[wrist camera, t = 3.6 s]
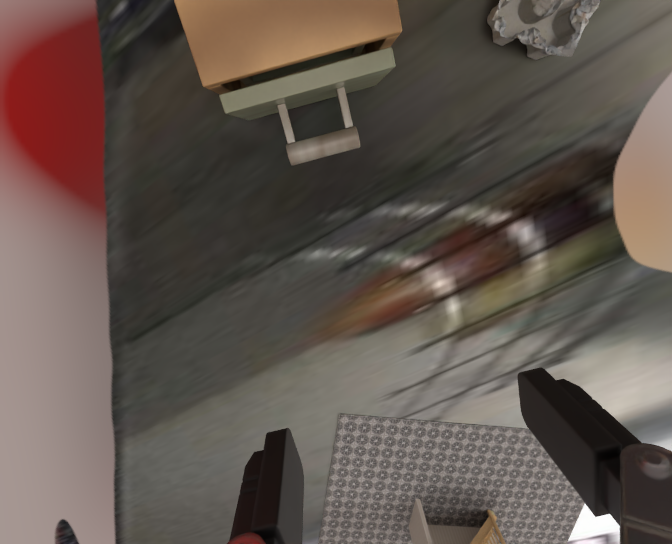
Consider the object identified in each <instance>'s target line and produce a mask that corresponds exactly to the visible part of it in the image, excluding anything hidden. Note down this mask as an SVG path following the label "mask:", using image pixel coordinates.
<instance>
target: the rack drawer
mask: <svg viewBox="0 0 672 544" xmlns="http://www.w3.org/2000/svg"><path fill="white" fill-rule="evenodd" d="M364 46H365V44H364V45H360V46H357V47H353V48H350V49H346V50H343V51H339V52H335V53H332V54H328V55H325V56H321V57H318V58H314V59H310V60H307V61H303V62H300V63H296V64H293V65H289V66H285V67H282V68H278V69H275V70H271V71H268V72H264V73H261V74H257V75H253V76H250V77H246V78H243V79H239V80H240V81H241V82H243V83H244V84H245V85H246V86H249V85H252V84H256V83H259V82H263V81H267V80H270V79H274V78H277V77H281V76H285V75H288V74H292V73H295V72H299V71H302V70H306V69H310V68H313V67H317V66H320V65H324V64H328V63H331V62H335V61H338V60H342V59H345V58H349V57H353V56H356V55H360V54H361V52H362V50H363V48H364ZM394 67H395V61H394V55H393V50H392V47H388V48H385V49H381V50H378V51H374V52H371V53H367V54H363V55H360V56H356V57H353V58H349V59H345V60H342V61H338V62H335V63H331V64H328V65H324V66H320V67H317V68H313V69H310V70H306V71H302V72H299V73H295V74H292V75H288V76H285V77H281V78H277V79H274V80H270V81H267V82H263V83H259V84H256V85H252V86H249V87H245V88H242V89H238V90H234V91H231V92H227V93H224V94H220V95H219V97H220V100H221V103H222V106H223V109H224V112H225V114H228V115H232V116H235V117H238V118H242V119H245V120H253V119H256V118H260V117H263V116H267V115H271V114H274V113H278V112H279V114H280V118H281V121H282V125H283V128H284V132H285V136H286V139H287V143H288V144H287V145H286V150H287V154H288V158H289V161H290V163H291V165H292V166H293V165H296V164H300V163H304V162H307V161H311V160H315V159H319V158H322V157H326V156H330V155H333V154H337V153H341V152H345V151H348V150H352V149H356V148H359V147H360V140H359V135H358V131H357V128H356V126H353V123H352V119H351V115H350V110H349V106H348V101H347V97H346V94H347V93H351V92H354V91H358V90H362V89H365V88H369V87H372V86H376V85H377V84H378V83H379V82H380V81H381V80H382V79H383V78H384V77H385V76H386V75H387V74H388V73H389V72H390V71H391V70H392V69H393V68H394ZM336 96H338V100H339V105H340V109H341V113H342V118H343V122H344V126H345V128H346V129H342V130H338V131H335V132H331V133H327V134H323V135H320V136H316V137H312V138H309V139H305V140H301V141H298V142H296V141H295V137H294V133H293V130H292V126H291V122H290V119H289V115H288V111H287V110H289V109H293V108H296V107H300V106H303V105H307V104H311V103H314V102H318V101H322V100H325V99H329V98H333V97H336ZM352 126H353V127H352Z"/></svg>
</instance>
